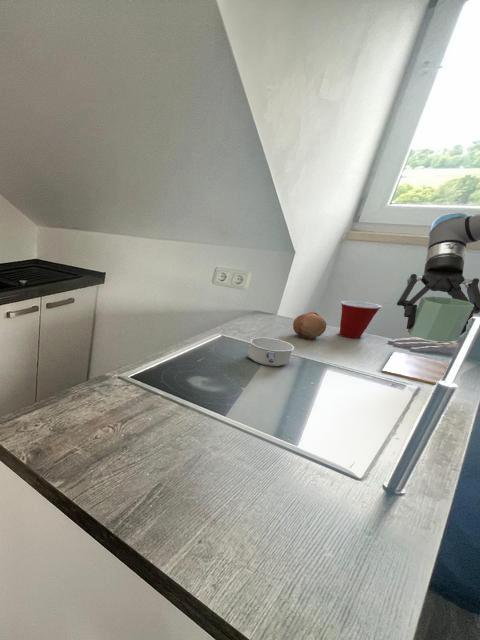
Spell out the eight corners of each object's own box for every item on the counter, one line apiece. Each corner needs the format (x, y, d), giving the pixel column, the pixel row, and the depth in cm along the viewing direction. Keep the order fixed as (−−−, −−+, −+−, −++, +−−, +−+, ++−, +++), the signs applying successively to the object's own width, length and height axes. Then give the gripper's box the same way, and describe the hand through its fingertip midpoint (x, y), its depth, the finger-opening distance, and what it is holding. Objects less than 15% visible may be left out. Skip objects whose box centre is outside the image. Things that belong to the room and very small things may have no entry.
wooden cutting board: (441, 386, 104) (442, 384, 103) (381, 371, 112) (382, 370, 112) (448, 364, 115) (449, 362, 115) (393, 353, 124) (394, 351, 123)
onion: (301, 341, 143) (309, 315, 142) (328, 343, 134) (337, 315, 133) (282, 334, 140) (291, 307, 140) (309, 336, 131) (318, 307, 131)
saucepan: (243, 373, 113) (247, 356, 111) (246, 350, 128) (250, 335, 126) (290, 382, 107) (296, 364, 105) (288, 357, 123) (293, 341, 120)
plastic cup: (366, 333, 140) (378, 301, 135) (372, 342, 132) (385, 308, 127) (328, 328, 146) (339, 297, 141) (332, 337, 137) (343, 304, 133)
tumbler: (478, 307, 99) (466, 299, 106) (427, 303, 103) (419, 295, 110) (460, 344, 103) (450, 333, 110) (412, 337, 108) (405, 328, 114)
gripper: (398, 251, 115) (387, 317, 110) (509, 257, 104) (503, 330, 98) (388, 266, 121) (377, 329, 116) (492, 273, 110) (485, 343, 104)
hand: (435, 329), depth 107 cm, fingers closed on tumbler, 9 cm apart
